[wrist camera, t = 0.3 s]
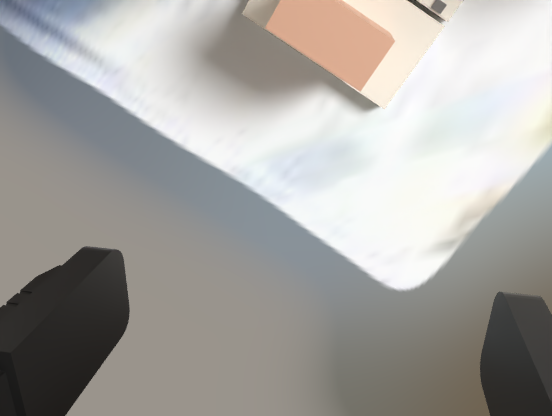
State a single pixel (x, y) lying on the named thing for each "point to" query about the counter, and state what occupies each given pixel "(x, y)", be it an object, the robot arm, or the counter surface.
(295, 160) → the counter surface
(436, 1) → the board
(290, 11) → the salmon block with base
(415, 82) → the counter surface
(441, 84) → the counter surface
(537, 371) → the robot arm
